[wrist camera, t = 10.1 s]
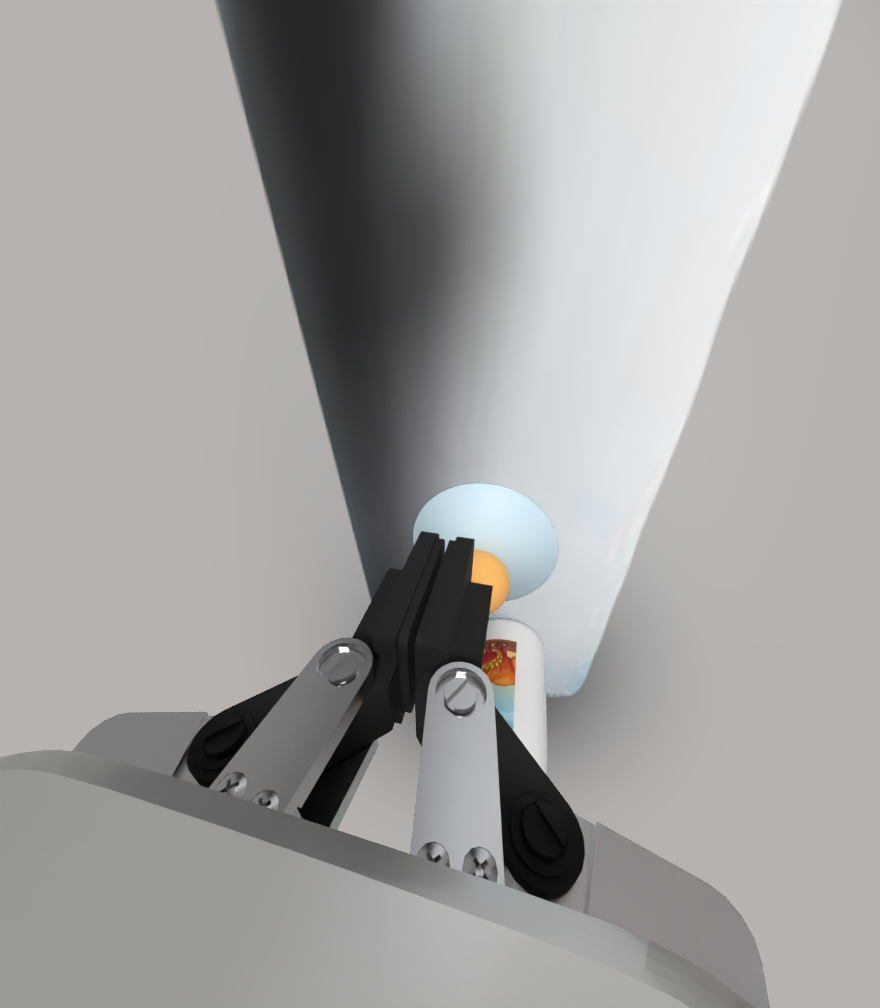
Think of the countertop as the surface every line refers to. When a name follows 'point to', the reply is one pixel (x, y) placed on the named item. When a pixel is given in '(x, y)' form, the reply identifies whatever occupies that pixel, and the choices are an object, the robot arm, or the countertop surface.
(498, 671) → the milk bottle
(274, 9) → the countertop surface
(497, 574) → the ball
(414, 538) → the disc
